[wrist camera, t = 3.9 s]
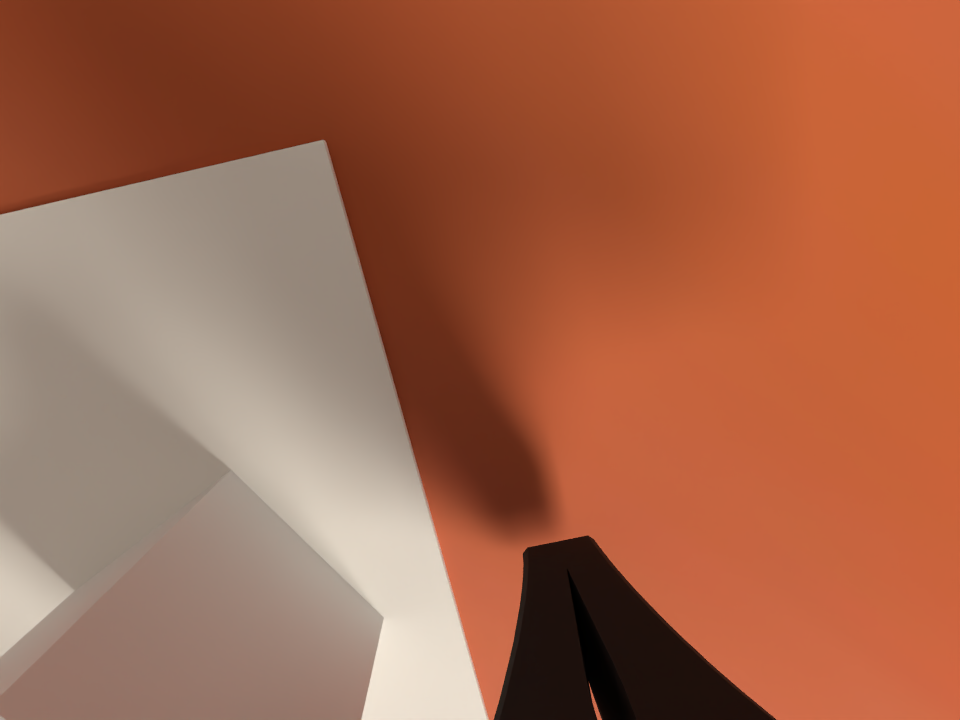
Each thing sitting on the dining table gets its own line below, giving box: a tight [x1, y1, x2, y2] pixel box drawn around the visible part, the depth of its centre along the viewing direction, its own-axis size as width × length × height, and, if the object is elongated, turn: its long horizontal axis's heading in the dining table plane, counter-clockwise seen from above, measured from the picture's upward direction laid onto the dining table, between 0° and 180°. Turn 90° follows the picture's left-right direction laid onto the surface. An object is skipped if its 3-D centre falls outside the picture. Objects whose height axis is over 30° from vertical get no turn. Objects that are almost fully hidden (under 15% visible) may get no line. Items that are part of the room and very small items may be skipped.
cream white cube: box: [0, 470, 384, 720], centre depth 8 cm, size 5×5×5 cm
